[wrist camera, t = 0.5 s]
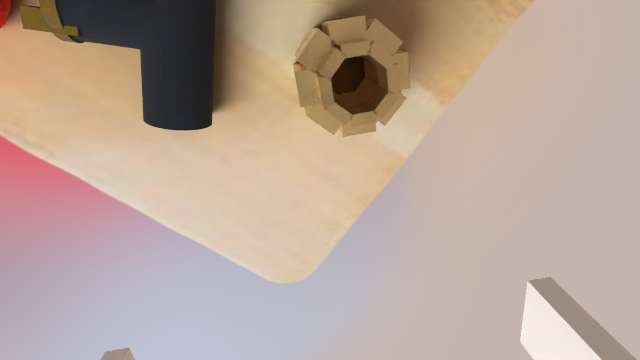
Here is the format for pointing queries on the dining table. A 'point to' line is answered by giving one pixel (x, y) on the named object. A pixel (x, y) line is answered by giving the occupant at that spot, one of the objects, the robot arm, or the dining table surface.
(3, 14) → the tomato
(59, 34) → the pipe connector
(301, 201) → the dining table surface
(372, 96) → the brass stepped collar
